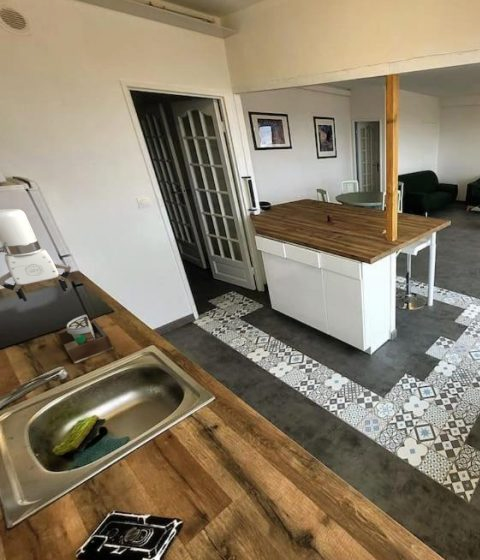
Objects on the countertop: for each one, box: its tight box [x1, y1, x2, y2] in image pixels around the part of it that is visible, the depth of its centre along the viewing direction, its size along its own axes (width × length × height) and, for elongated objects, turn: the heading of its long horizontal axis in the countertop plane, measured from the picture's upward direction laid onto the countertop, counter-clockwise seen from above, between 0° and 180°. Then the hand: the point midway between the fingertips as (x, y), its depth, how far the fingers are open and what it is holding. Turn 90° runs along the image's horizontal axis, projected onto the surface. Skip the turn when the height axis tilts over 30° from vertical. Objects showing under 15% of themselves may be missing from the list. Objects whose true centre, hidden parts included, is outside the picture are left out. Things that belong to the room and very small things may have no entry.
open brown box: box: [57, 320, 114, 364], centre depth 117 cm, size 11×17×6 cm, turn 53°
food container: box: [66, 314, 97, 345], centre depth 115 cm, size 12×6×10 cm, turn 45°
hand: (45, 294), depth 107 cm, fingers open, 9 cm apart
